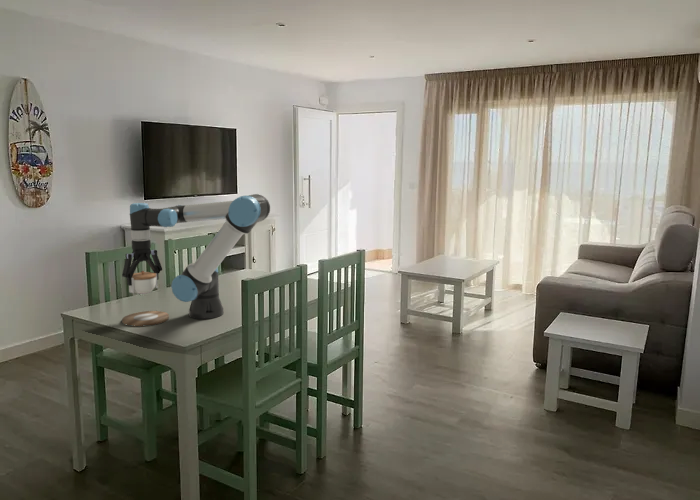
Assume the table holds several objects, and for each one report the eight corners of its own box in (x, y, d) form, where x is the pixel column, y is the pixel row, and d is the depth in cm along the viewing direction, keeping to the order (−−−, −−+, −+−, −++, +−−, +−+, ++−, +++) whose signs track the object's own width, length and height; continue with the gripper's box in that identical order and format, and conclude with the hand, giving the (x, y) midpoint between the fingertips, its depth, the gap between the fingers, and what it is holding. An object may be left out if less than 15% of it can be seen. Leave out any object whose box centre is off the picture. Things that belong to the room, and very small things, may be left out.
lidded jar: (129, 296, 227) (127, 274, 226) (132, 289, 238) (130, 269, 236) (156, 294, 230) (154, 272, 229) (157, 288, 240) (156, 267, 239)
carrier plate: (177, 315, 242) (177, 313, 242) (149, 328, 224) (149, 325, 224) (142, 311, 248) (142, 309, 248) (112, 323, 230) (112, 320, 230)
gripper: (158, 235, 241) (161, 283, 245) (110, 242, 223) (114, 294, 227) (169, 237, 237) (171, 286, 241) (121, 243, 218) (124, 296, 222)
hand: (143, 290), depth 234 cm, fingers closed on lidded jar, 11 cm apart
